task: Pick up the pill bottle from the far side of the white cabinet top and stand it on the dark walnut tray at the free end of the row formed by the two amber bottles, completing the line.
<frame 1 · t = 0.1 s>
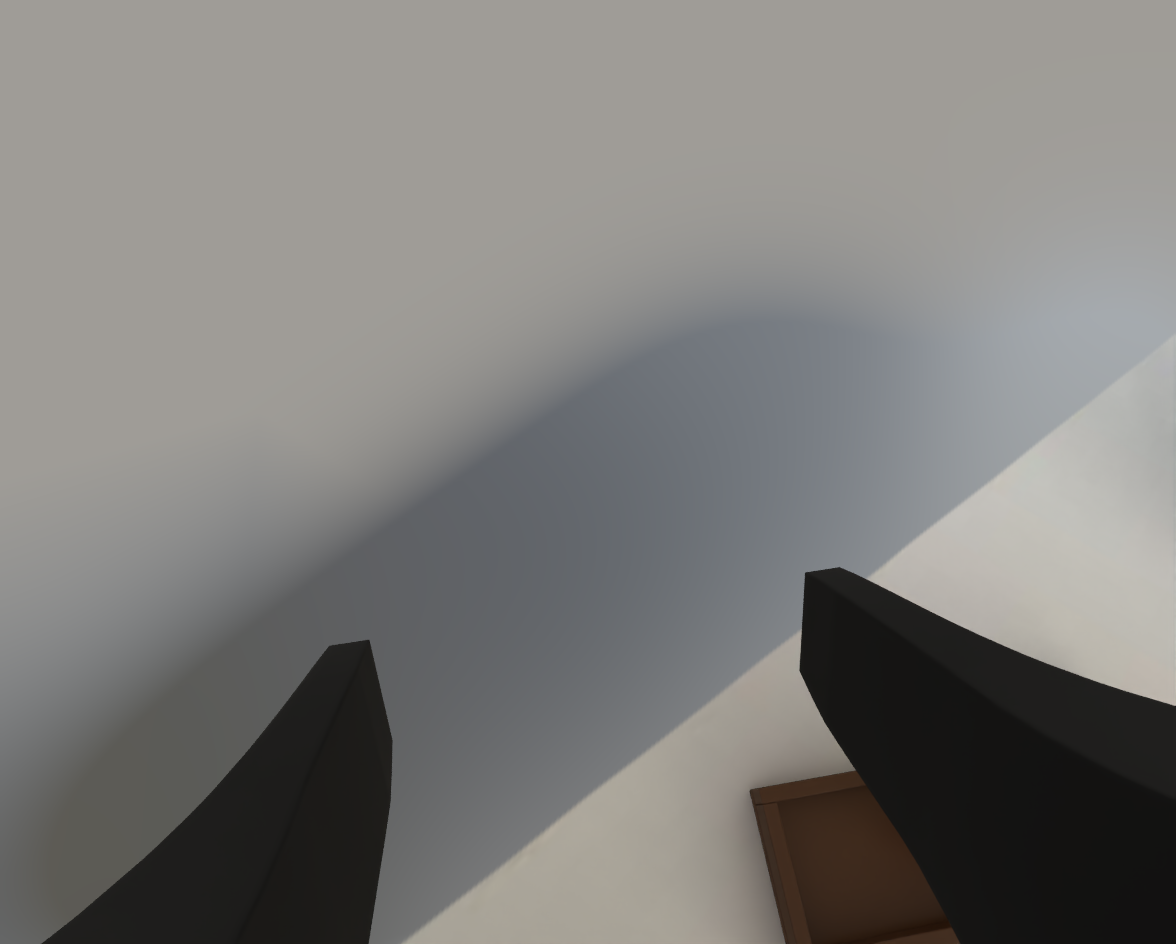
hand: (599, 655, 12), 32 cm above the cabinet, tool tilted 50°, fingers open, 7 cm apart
tray: (972, 836, 41), on the cabinet
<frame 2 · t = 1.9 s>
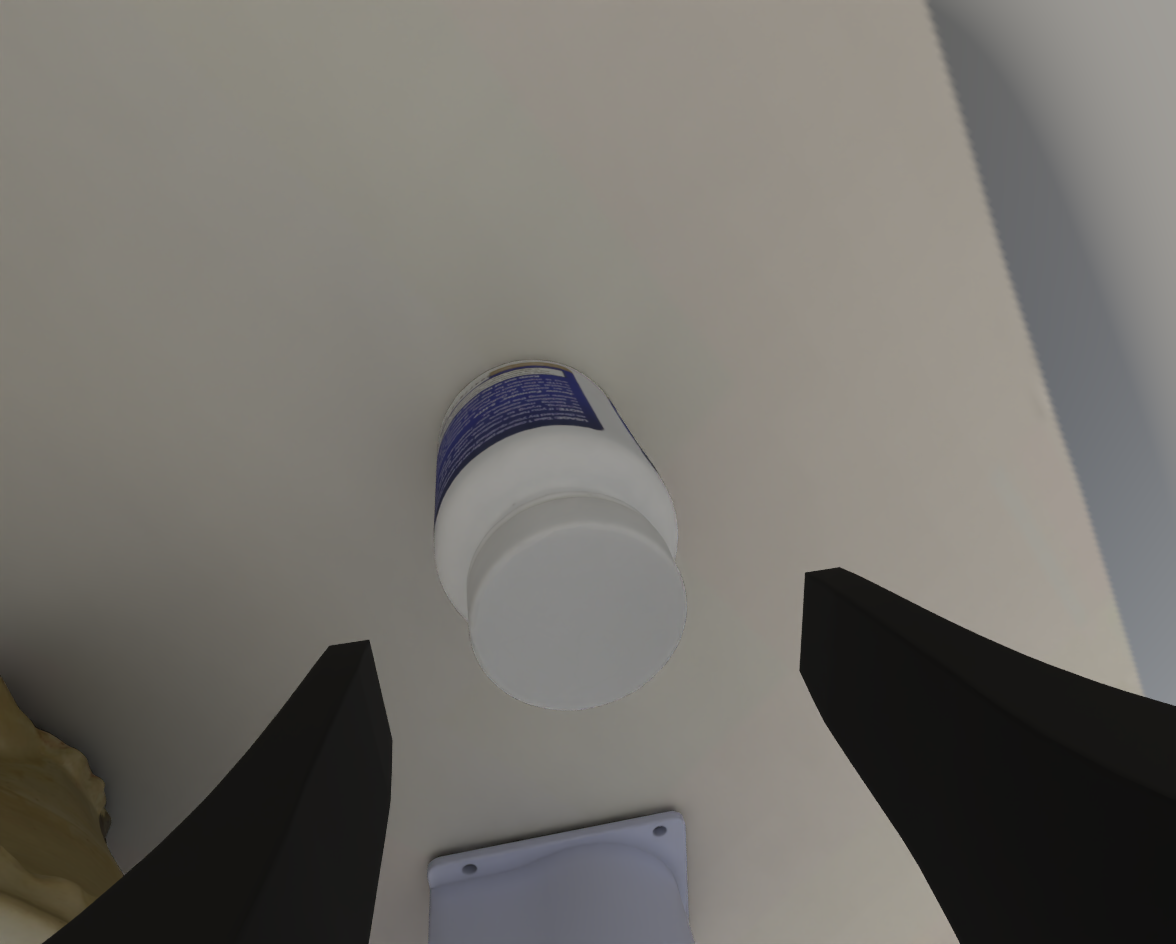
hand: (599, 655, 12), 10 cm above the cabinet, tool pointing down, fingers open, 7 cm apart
pill bottle: (531, 444, 21), on the cabinet
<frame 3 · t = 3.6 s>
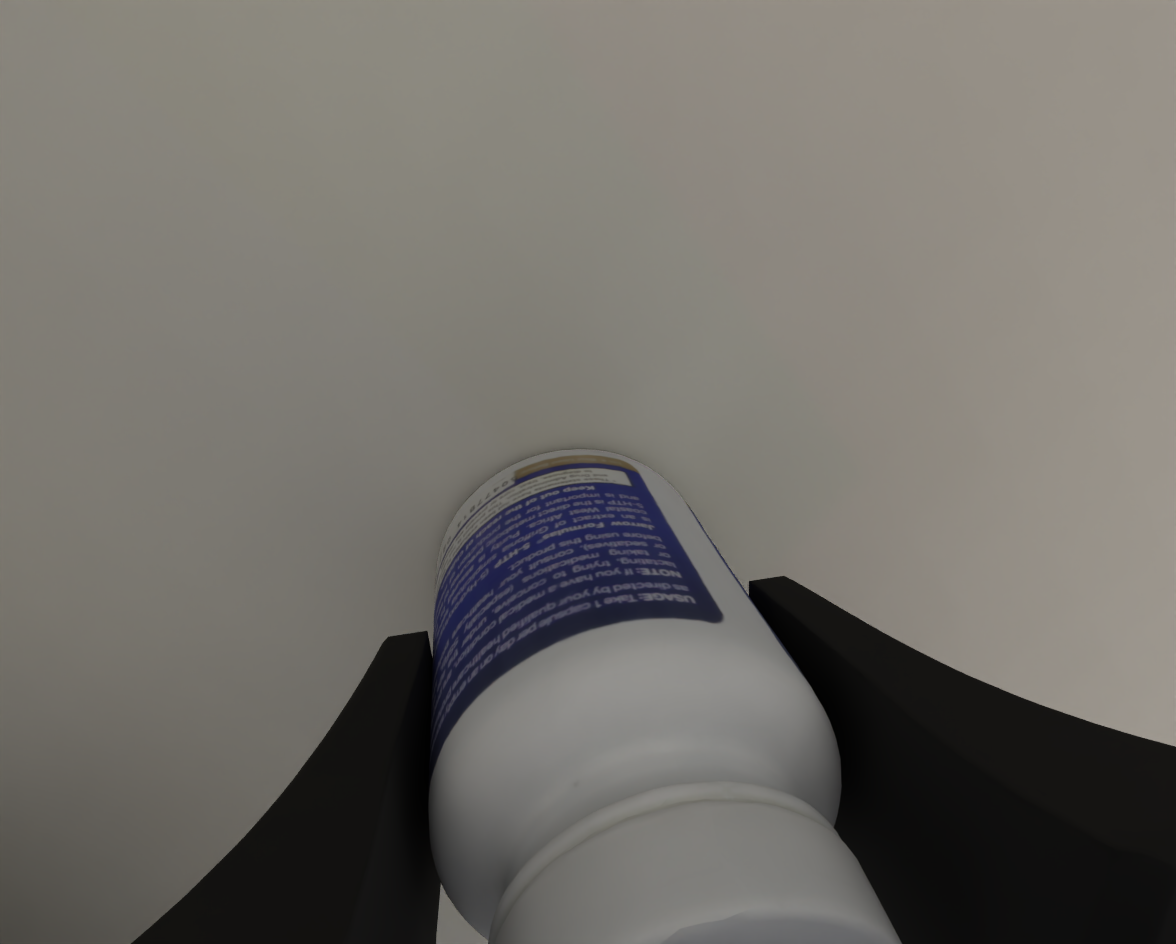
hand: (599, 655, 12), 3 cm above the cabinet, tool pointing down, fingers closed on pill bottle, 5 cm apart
pill bottle: (569, 561, 15), on the cabinet, touching gripper
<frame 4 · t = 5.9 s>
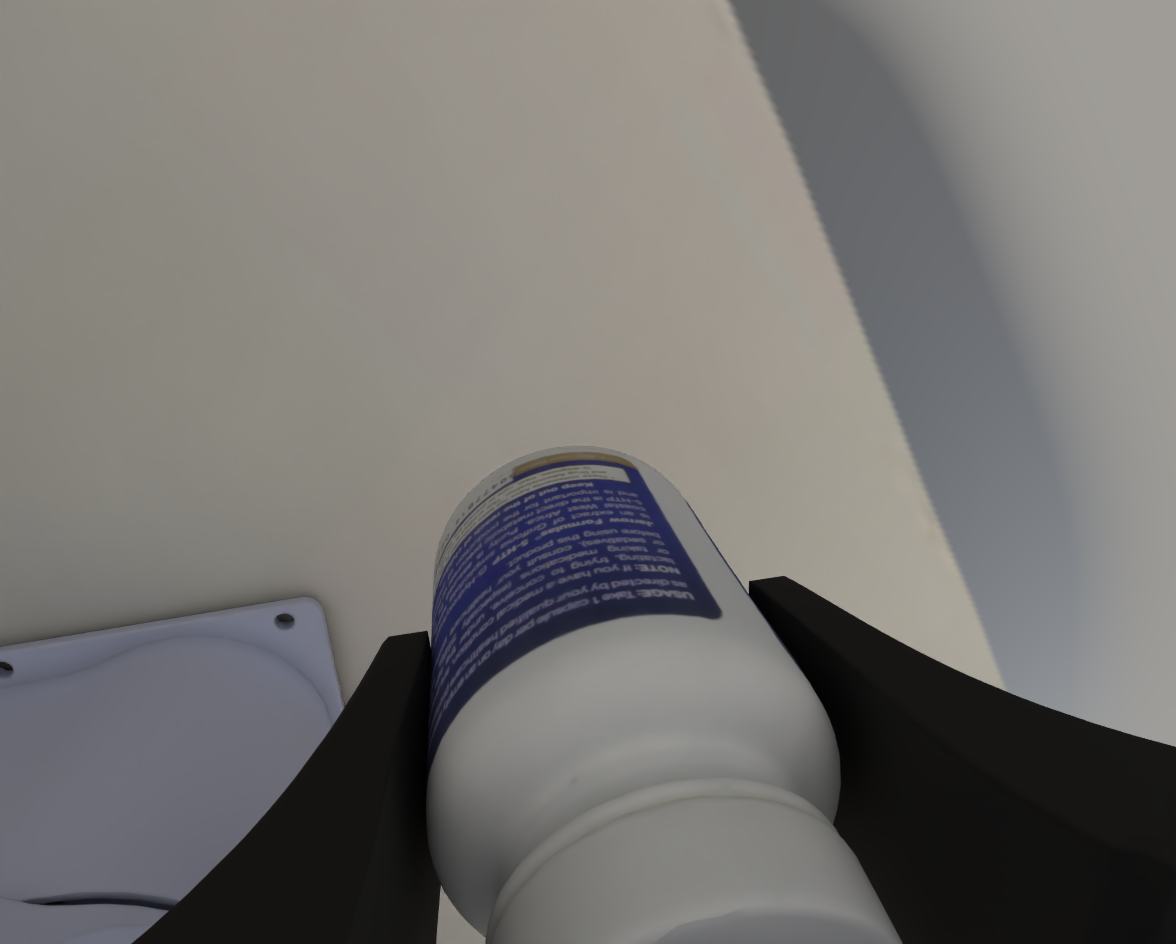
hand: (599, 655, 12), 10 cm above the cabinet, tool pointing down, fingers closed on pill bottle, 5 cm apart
pill bottle: (568, 559, 15), point 7 cm above the cabinet, touching gripper
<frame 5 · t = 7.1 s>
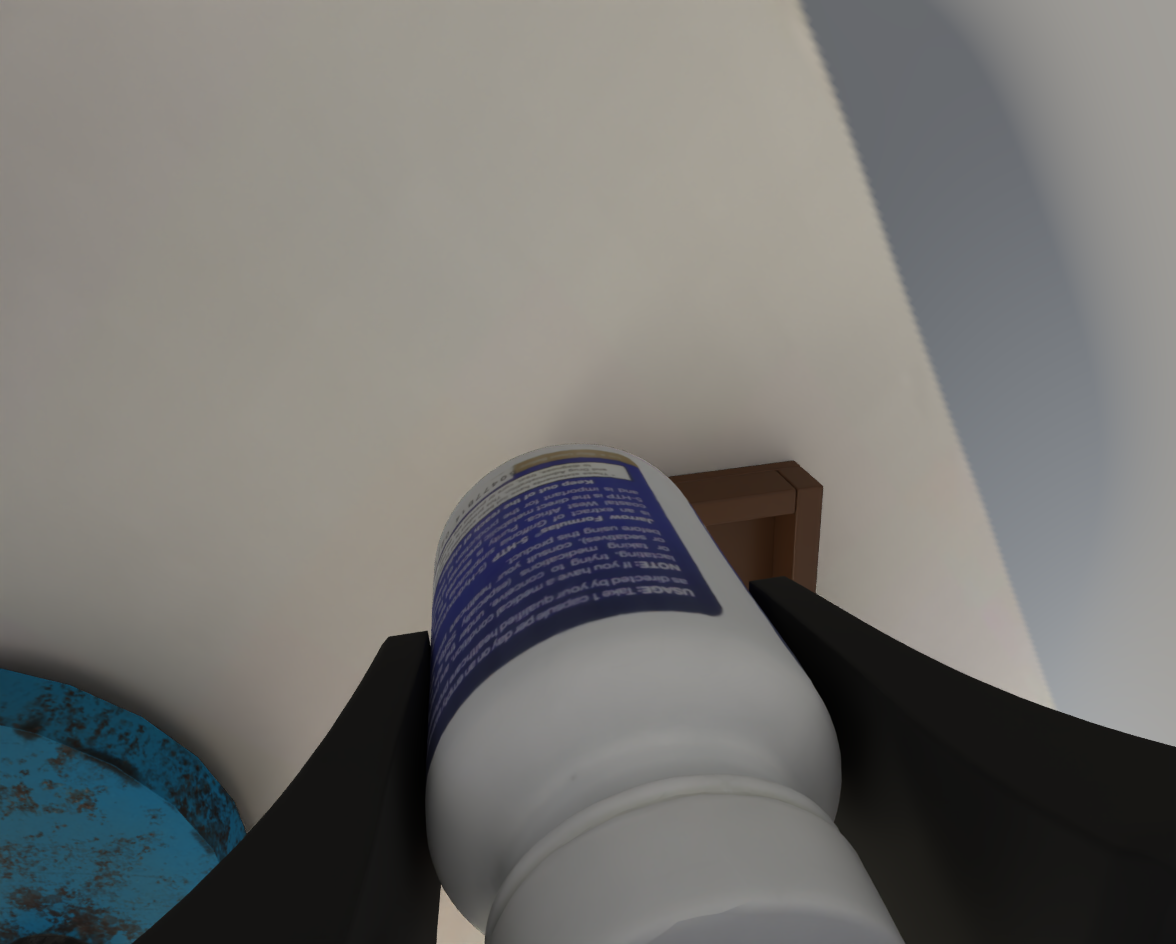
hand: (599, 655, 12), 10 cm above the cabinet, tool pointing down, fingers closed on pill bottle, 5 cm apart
pill bottle: (569, 557, 15), point 7 cm above the cabinet, touching gripper
desk lamp: (45, 885, 24), on the cabinet
tray: (667, 770, 27), on the cabinet
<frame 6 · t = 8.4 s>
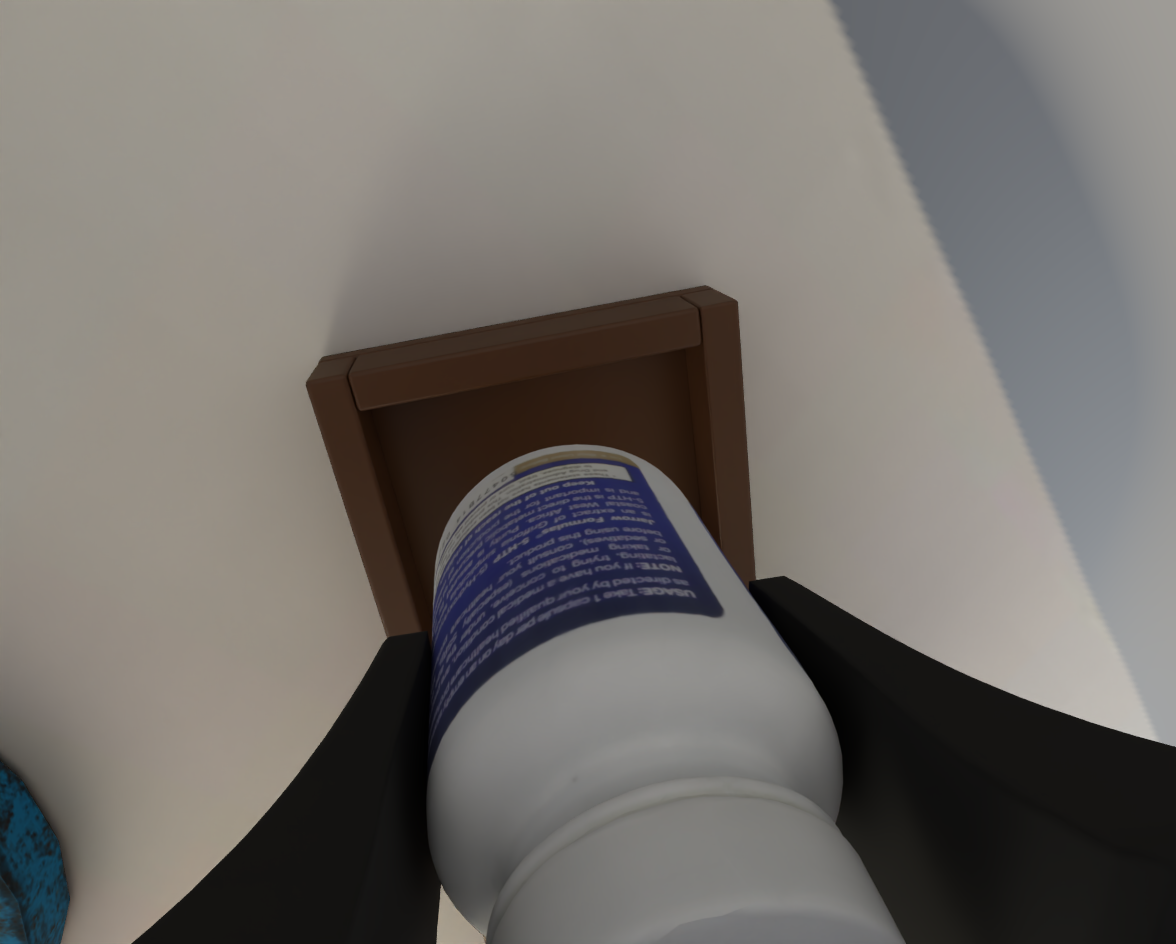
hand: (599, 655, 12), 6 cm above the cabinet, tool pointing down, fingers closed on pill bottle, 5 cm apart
pill bottle: (569, 558, 15), point 3 cm above the cabinet, touching gripper
tray: (596, 727, 21), on the cabinet
when the fingers open (3 cm above the cabinet, at t = 9.8 s): pill bottle stays where it is, resting on tray.
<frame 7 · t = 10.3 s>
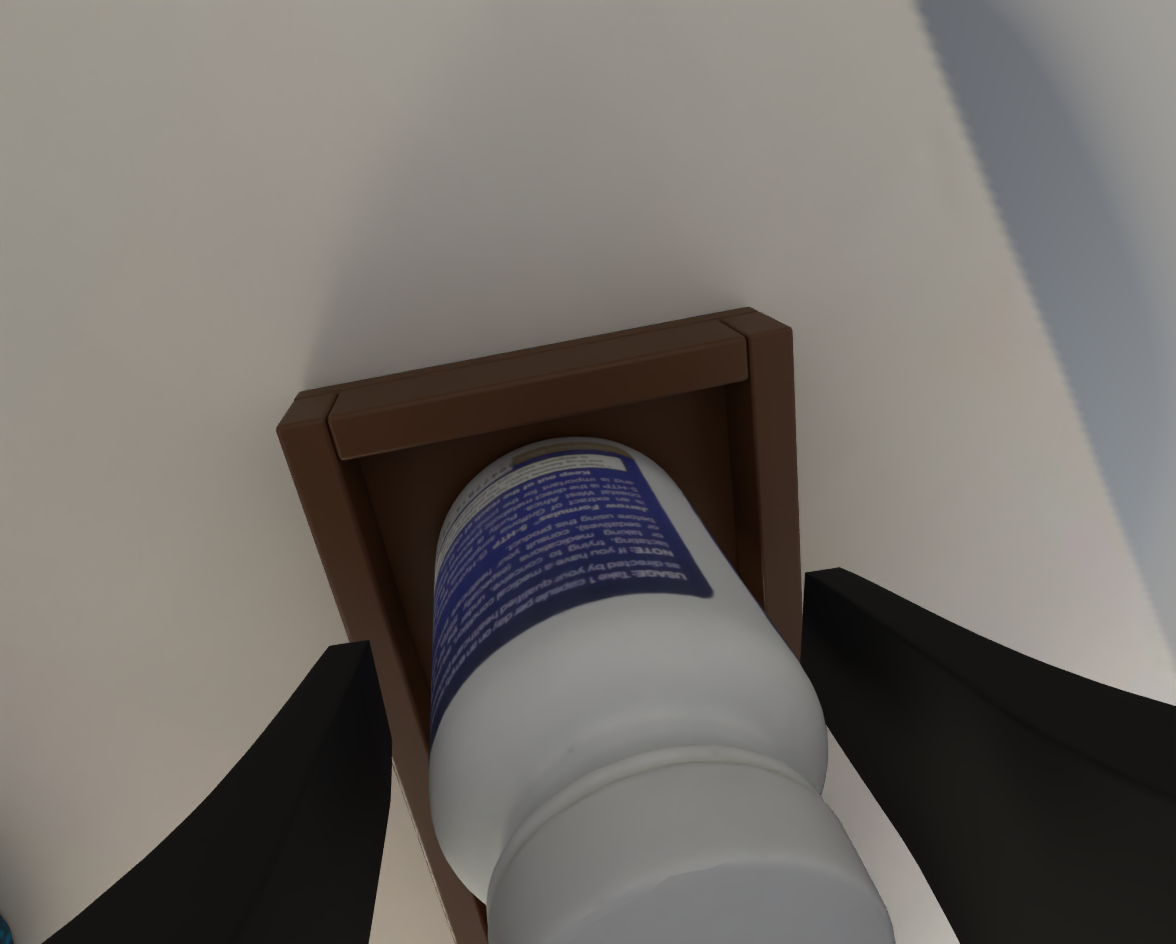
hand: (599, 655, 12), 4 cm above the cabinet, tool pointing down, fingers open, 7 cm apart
pill bottle: (566, 547, 15), resting on tray
tray: (614, 800, 19), on the cabinet
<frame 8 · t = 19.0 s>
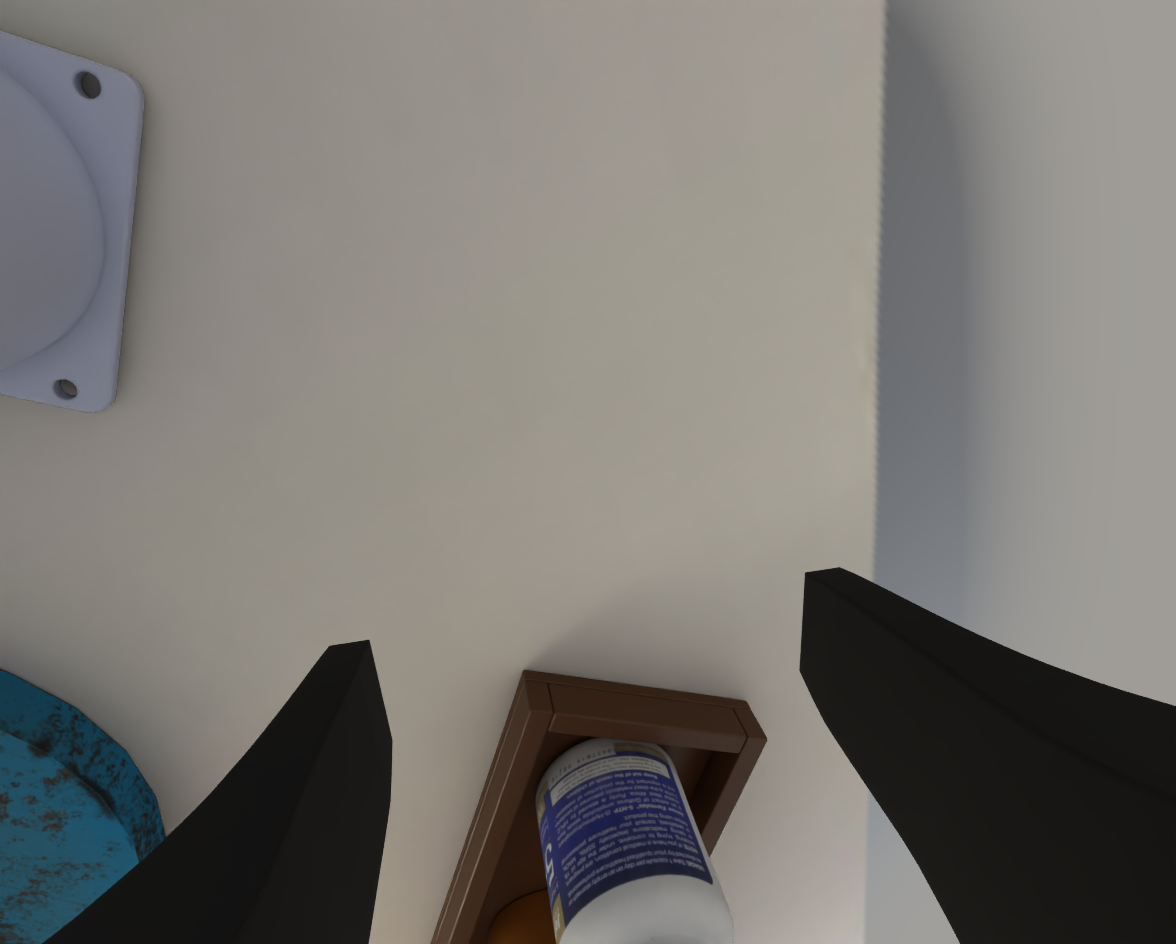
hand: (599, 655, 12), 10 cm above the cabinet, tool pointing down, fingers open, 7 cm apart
amber bottle 2: (547, 929, 29), resting on tray
pill bottle: (604, 781, 27), resting on tray
tray: (545, 917, 30), on the cabinet
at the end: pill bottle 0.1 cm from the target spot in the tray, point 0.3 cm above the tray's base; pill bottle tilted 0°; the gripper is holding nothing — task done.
